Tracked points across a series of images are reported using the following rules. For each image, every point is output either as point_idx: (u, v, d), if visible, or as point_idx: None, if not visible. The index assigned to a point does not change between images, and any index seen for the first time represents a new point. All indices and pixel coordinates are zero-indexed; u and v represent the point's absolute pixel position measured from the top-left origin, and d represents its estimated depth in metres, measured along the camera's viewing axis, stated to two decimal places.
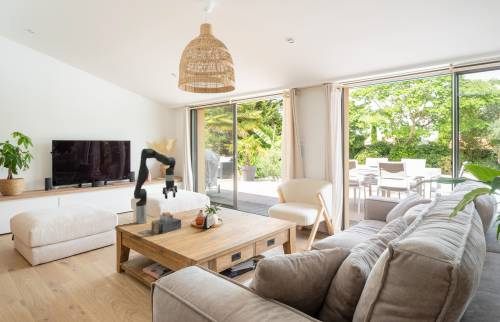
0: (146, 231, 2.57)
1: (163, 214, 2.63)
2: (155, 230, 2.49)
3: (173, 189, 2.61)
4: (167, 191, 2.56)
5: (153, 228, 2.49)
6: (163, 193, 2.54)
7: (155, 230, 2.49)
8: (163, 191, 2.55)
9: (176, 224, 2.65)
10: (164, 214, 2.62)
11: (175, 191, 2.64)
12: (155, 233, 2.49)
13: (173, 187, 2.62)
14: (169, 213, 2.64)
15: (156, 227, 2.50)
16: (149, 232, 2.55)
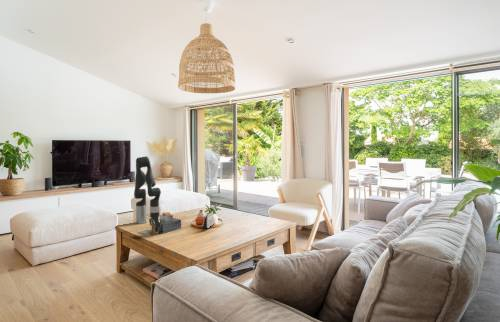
0: (146, 231, 2.57)
1: (163, 214, 2.63)
2: None
3: None
4: None
5: (153, 228, 2.49)
6: (158, 226, 2.48)
7: None
8: (157, 224, 2.47)
9: (176, 224, 2.65)
10: (164, 214, 2.62)
11: None
12: (155, 233, 2.49)
13: None
14: (169, 213, 2.64)
15: None
16: (149, 232, 2.55)
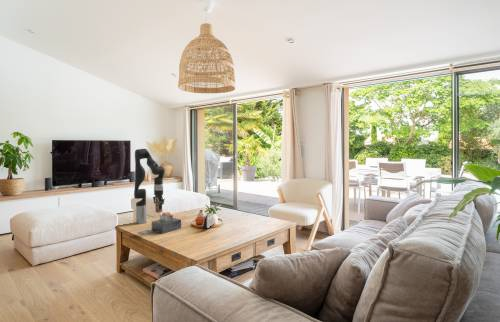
0: (146, 231, 2.57)
1: (163, 214, 2.63)
2: None
3: None
4: None
5: (157, 206, 2.54)
6: (162, 203, 2.52)
7: (158, 208, 2.53)
8: (161, 202, 2.52)
9: (176, 224, 2.65)
10: (164, 214, 2.62)
11: None
12: (159, 211, 2.54)
13: None
14: (169, 213, 2.64)
15: None
16: (149, 232, 2.55)
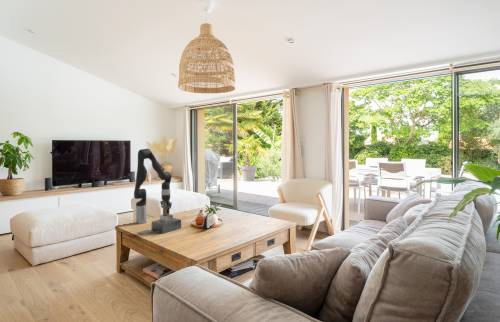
0: (146, 231, 2.57)
1: None
2: (166, 212, 2.63)
3: None
4: None
5: (164, 210, 2.62)
6: (169, 208, 2.61)
7: (166, 212, 2.62)
8: (169, 206, 2.61)
9: (176, 224, 2.65)
10: None
11: None
12: (166, 214, 2.63)
13: None
14: None
15: None
16: (149, 232, 2.55)
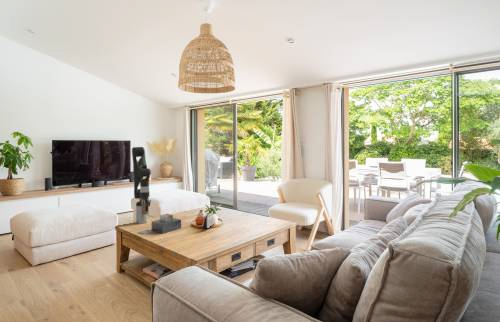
0: (146, 231, 2.57)
1: None
2: None
3: None
4: None
5: (143, 208, 2.54)
6: (148, 205, 2.53)
7: None
8: (147, 204, 2.52)
9: (176, 224, 2.65)
10: None
11: None
12: (145, 212, 2.54)
13: None
14: None
15: None
16: (149, 232, 2.55)
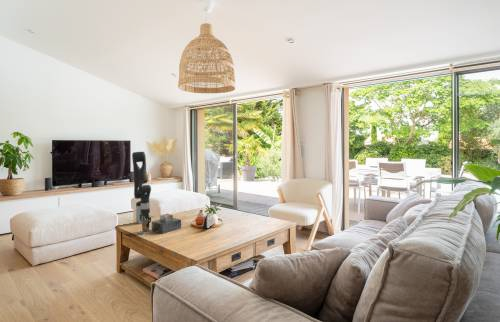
0: None
1: None
2: (146, 228, 2.55)
3: None
4: (149, 219, 2.56)
5: (144, 225, 2.55)
6: (149, 222, 2.53)
7: (145, 227, 2.55)
8: (148, 220, 2.53)
9: (176, 224, 2.65)
10: None
11: (143, 219, 2.60)
12: (146, 230, 2.55)
13: None
14: None
15: None
16: (149, 232, 2.55)
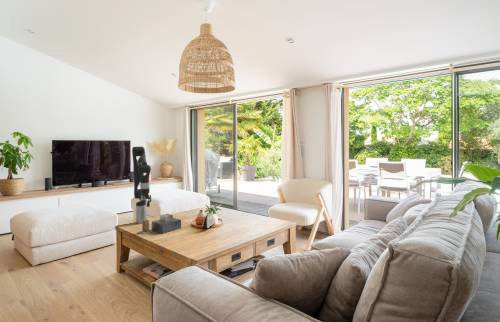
0: None
1: None
2: (146, 228, 2.55)
3: None
4: None
5: (144, 225, 2.55)
6: (149, 201, 2.52)
7: (145, 227, 2.55)
8: (148, 199, 2.52)
9: (176, 224, 2.65)
10: None
11: None
12: (146, 230, 2.55)
13: None
14: None
15: (147, 224, 2.56)
16: (149, 232, 2.55)
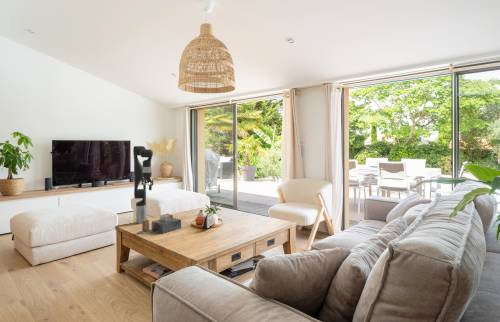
0: None
1: None
2: (146, 228, 2.55)
3: None
4: (151, 182, 2.61)
5: (144, 225, 2.55)
6: (151, 184, 2.59)
7: (145, 227, 2.55)
8: None
9: (176, 224, 2.65)
10: None
11: None
12: (146, 230, 2.55)
13: None
14: None
15: (147, 224, 2.56)
16: (149, 232, 2.55)
